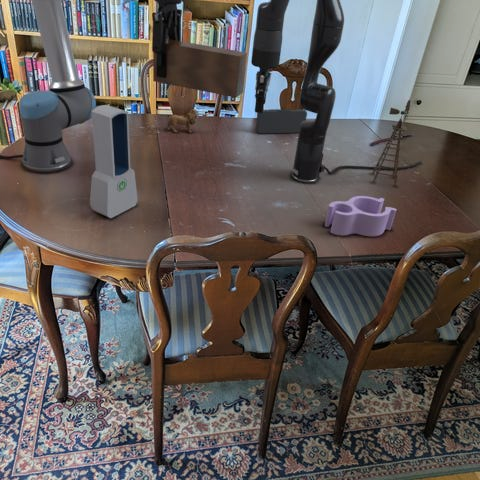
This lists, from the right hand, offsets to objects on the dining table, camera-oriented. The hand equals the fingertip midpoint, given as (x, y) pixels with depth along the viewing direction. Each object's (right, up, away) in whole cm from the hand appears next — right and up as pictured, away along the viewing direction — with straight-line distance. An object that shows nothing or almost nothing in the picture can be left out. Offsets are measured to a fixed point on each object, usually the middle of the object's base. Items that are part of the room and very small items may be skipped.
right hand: (260, 107), depth 132 cm
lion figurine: (-30, +9, +66) cm, 73 cm away
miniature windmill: (+48, -15, +42) cm, 66 cm away
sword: (+64, +8, +80) cm, 103 cm away
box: (-18, +7, +4) cm, 20 cm away
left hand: (-27, +11, +6) cm, 30 cm away
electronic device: (-43, -28, +7) cm, 52 cm away
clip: (+30, -33, +11) cm, 46 cm away
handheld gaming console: (+12, +10, +76) cm, 77 cm away
